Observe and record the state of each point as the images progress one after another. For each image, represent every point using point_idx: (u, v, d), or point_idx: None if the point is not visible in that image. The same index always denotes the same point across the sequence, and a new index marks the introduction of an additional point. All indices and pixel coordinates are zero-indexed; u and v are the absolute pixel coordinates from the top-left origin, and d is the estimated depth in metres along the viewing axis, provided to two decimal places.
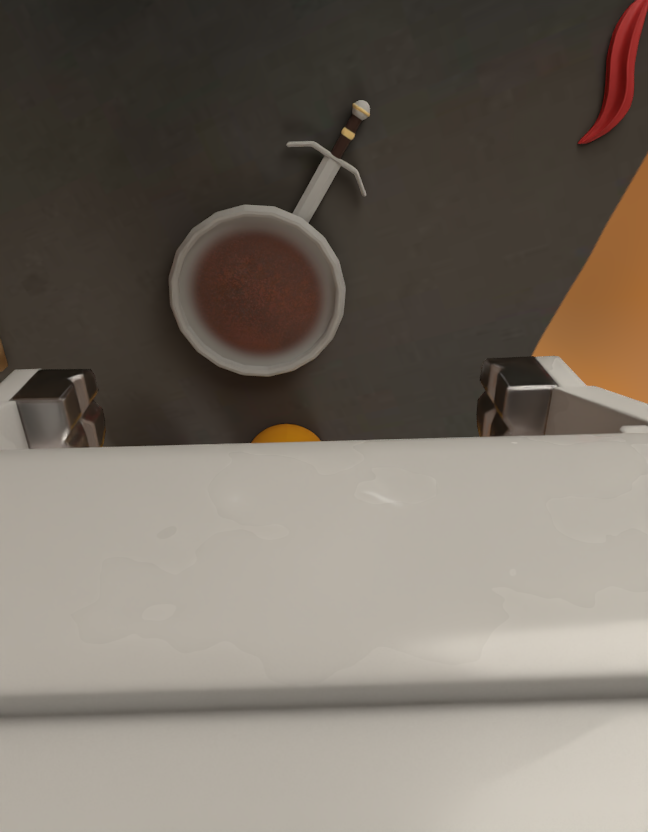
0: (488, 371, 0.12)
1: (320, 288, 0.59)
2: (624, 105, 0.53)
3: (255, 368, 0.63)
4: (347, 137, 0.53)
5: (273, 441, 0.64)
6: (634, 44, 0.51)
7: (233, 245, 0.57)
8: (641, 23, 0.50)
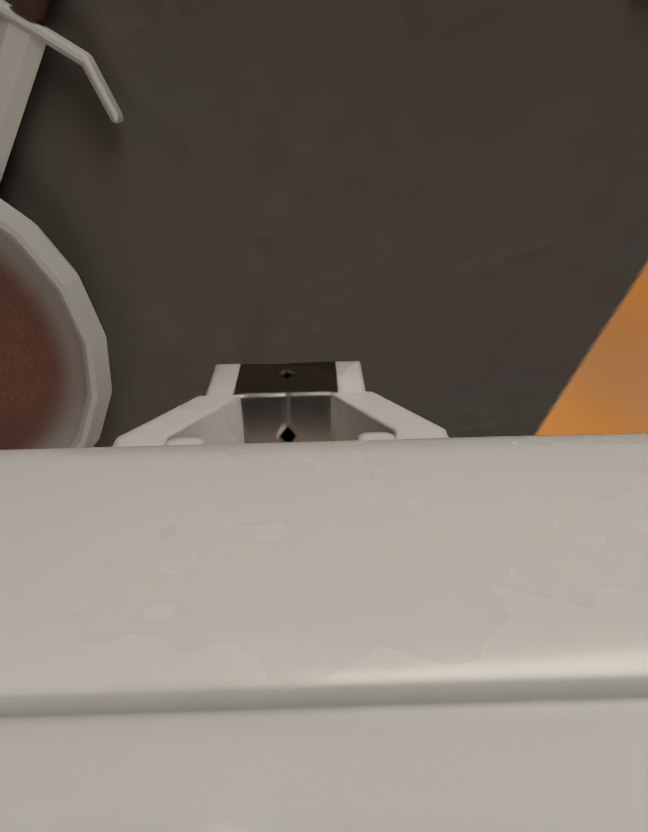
0: (287, 376, 0.12)
1: (54, 335, 0.27)
2: None
3: None
4: None
5: None
6: None
7: None
8: None
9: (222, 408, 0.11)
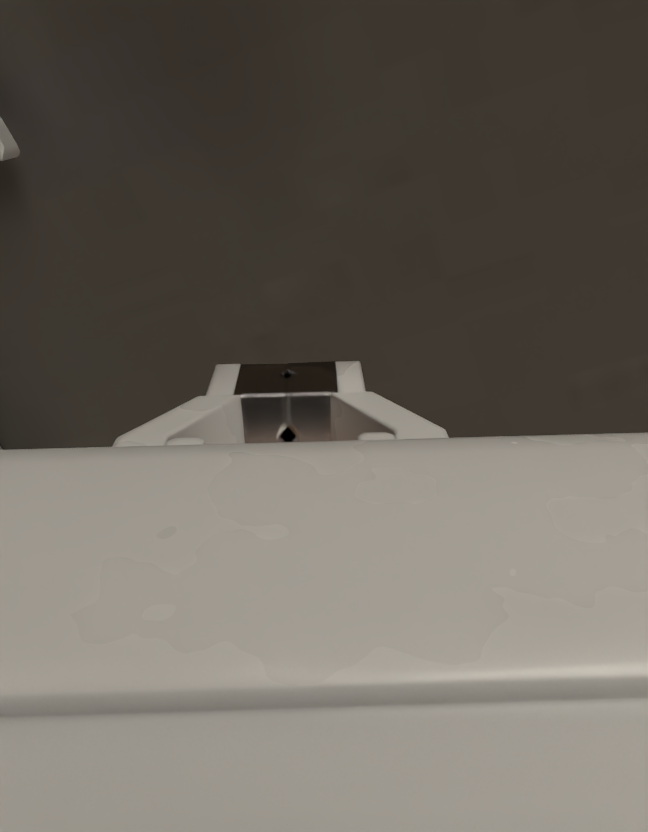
0: (288, 376, 0.12)
1: None
2: None
3: None
4: None
5: None
6: None
7: None
8: None
9: (222, 408, 0.11)
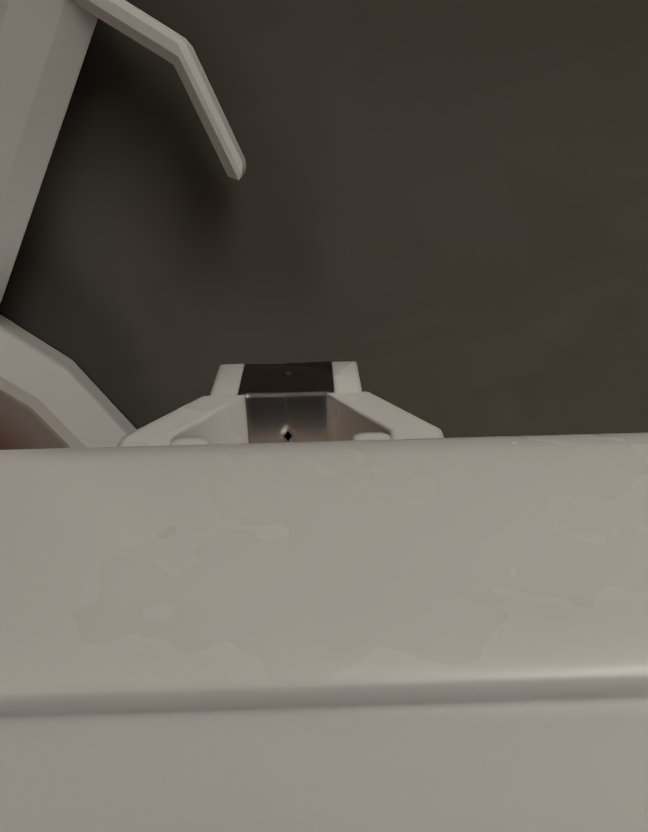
0: None
1: None
2: None
3: None
4: None
5: None
6: None
7: None
8: None
9: (226, 408, 0.11)
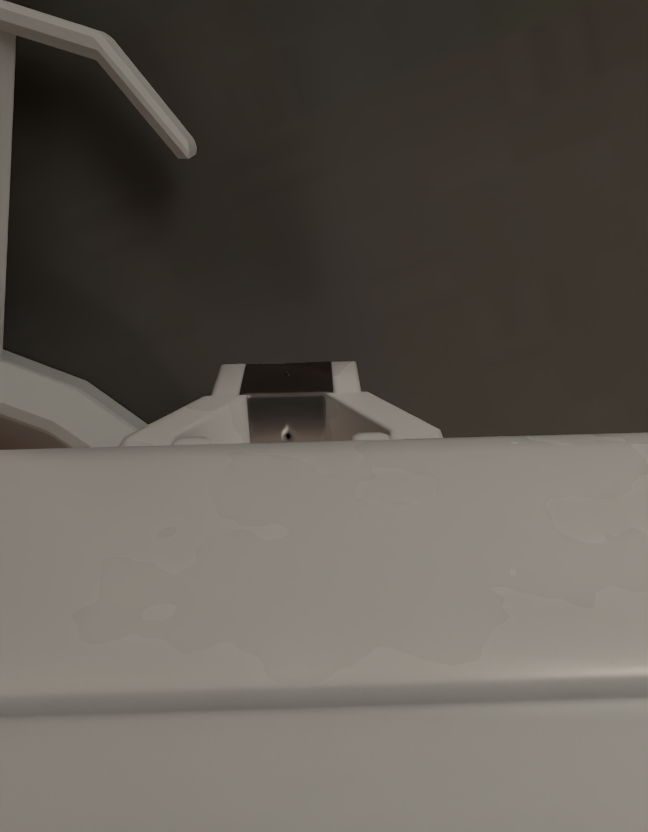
0: None
1: None
2: None
3: None
4: None
5: None
6: None
7: None
8: None
9: (227, 408, 0.11)
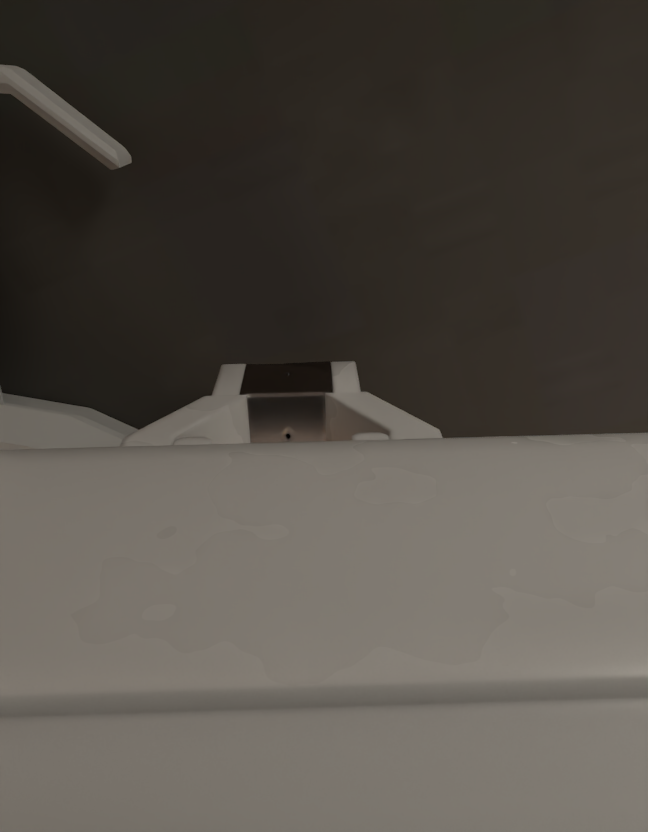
0: None
1: None
2: None
3: None
4: None
5: None
6: None
7: None
8: None
9: (227, 408, 0.11)
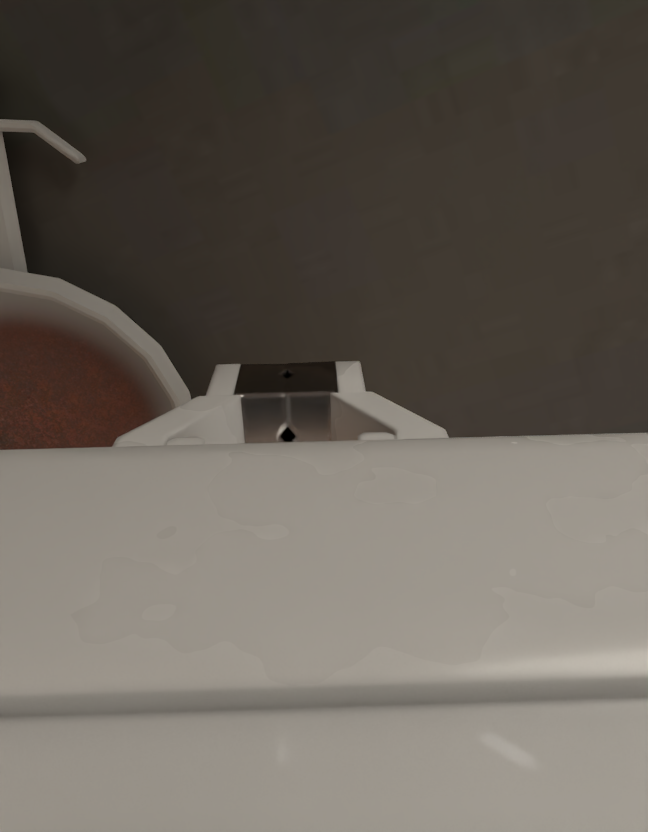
0: (288, 376, 0.12)
1: (124, 367, 0.30)
2: None
3: None
4: None
5: None
6: None
7: None
8: None
9: (222, 407, 0.11)
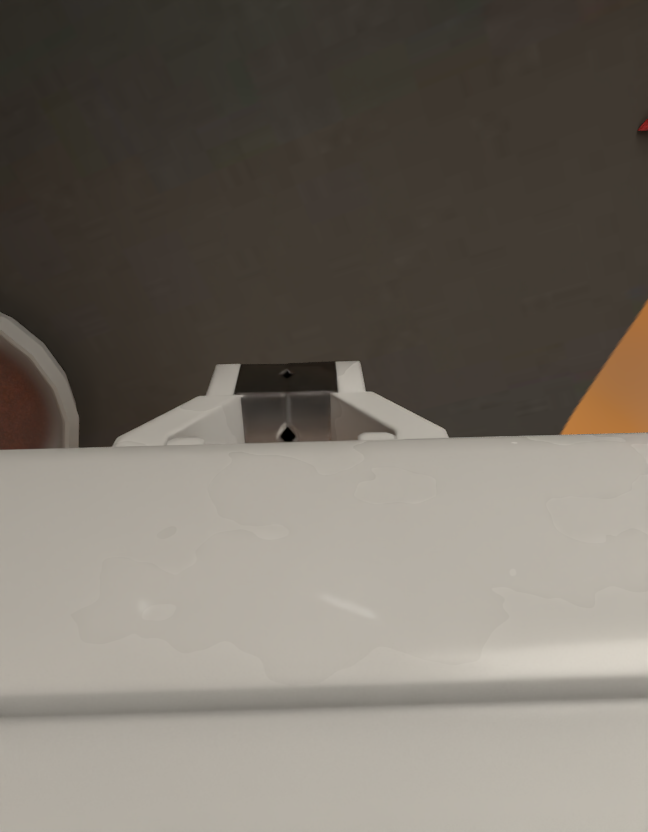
0: (287, 376, 0.12)
1: (17, 363, 0.40)
2: None
3: None
4: None
5: None
6: None
7: None
8: None
9: (222, 408, 0.11)
